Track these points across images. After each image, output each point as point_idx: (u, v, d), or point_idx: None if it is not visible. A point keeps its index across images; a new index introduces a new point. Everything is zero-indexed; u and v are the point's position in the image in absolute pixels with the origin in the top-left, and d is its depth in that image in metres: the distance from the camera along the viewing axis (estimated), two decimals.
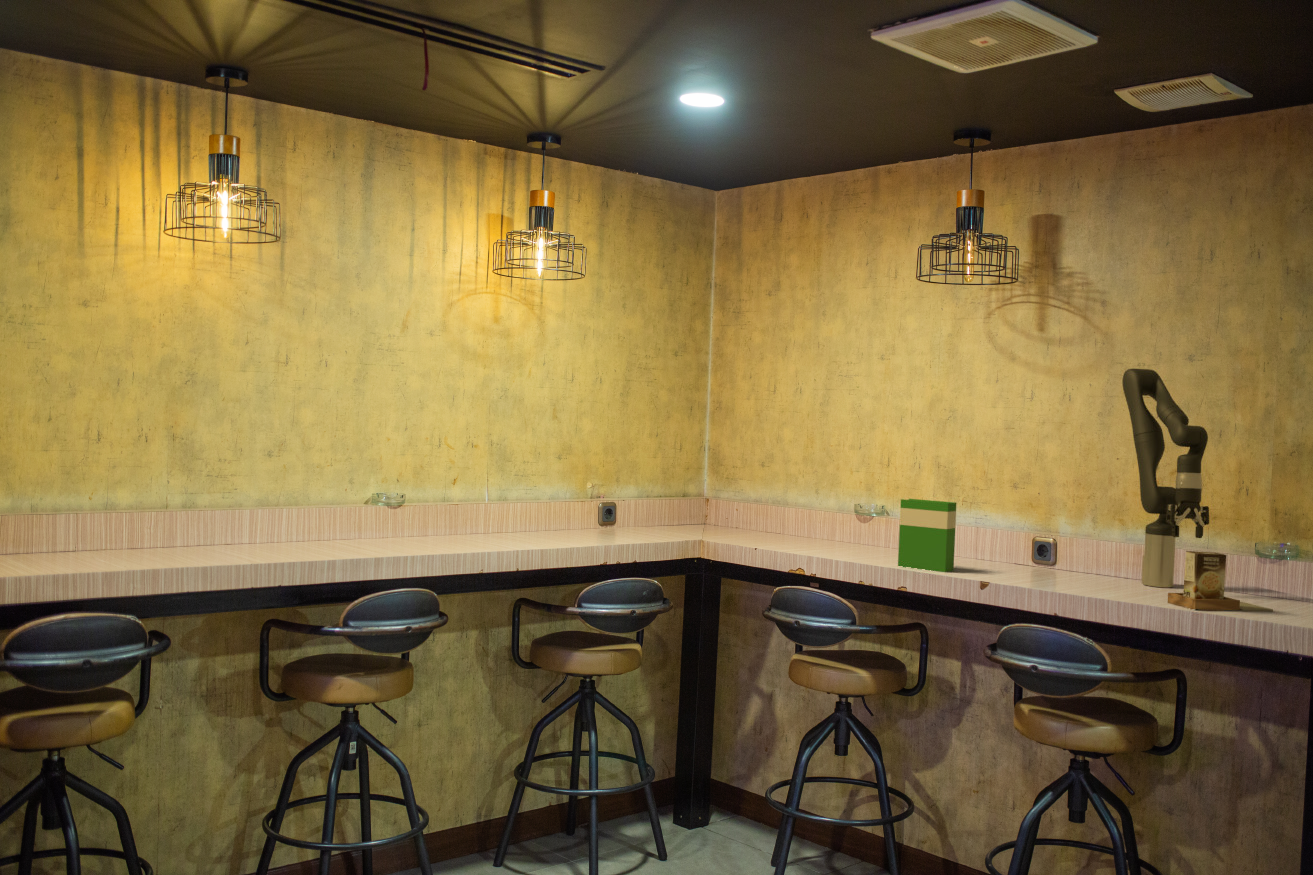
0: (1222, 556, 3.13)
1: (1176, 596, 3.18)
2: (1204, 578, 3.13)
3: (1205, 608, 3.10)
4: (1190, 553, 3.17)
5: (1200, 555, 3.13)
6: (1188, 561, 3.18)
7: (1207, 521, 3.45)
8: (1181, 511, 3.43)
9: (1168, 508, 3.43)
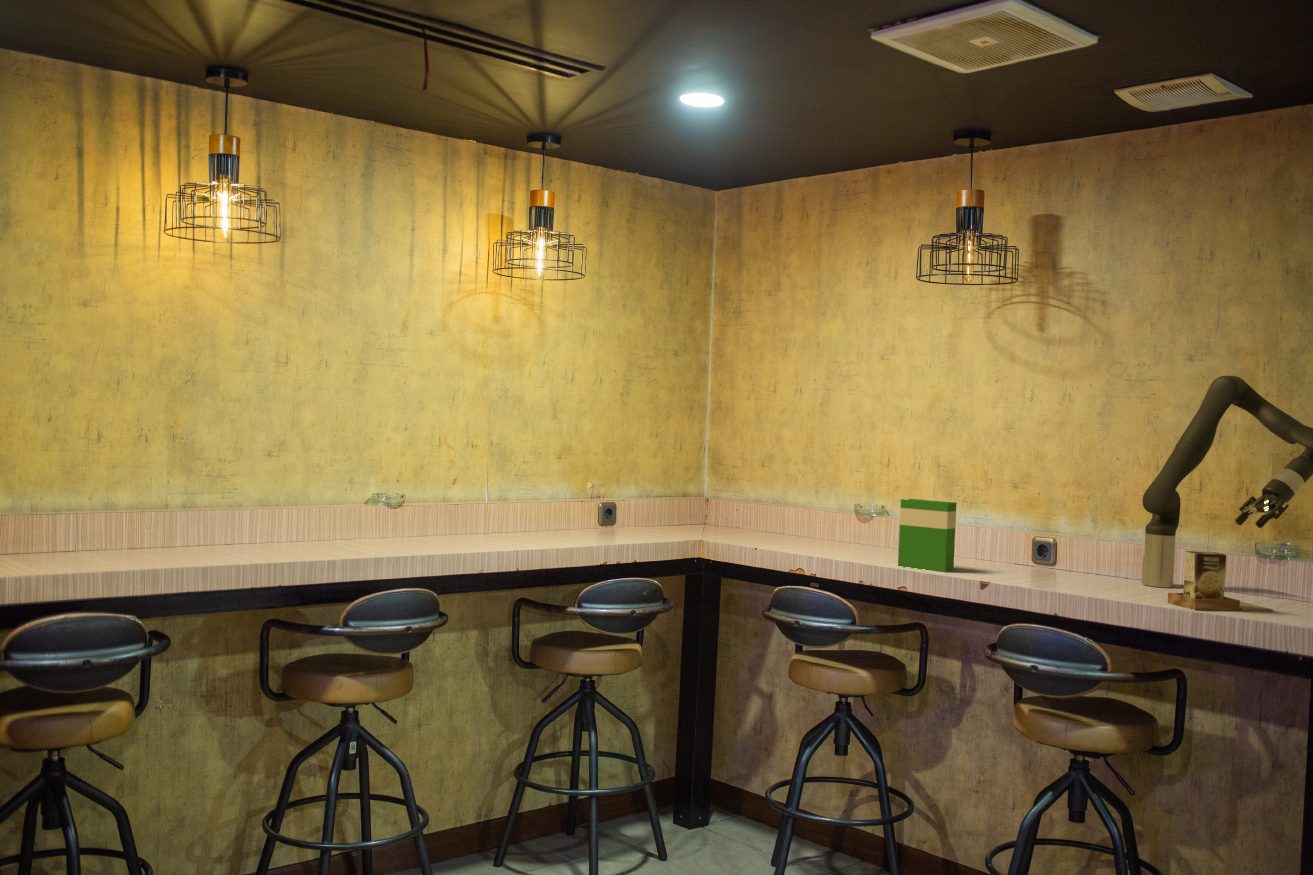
0: (1222, 556, 3.13)
1: (1176, 596, 3.18)
2: (1204, 578, 3.13)
3: (1205, 608, 3.10)
4: (1190, 553, 3.17)
5: (1200, 555, 3.13)
6: (1188, 561, 3.18)
7: None
8: None
9: (1283, 504, 3.13)
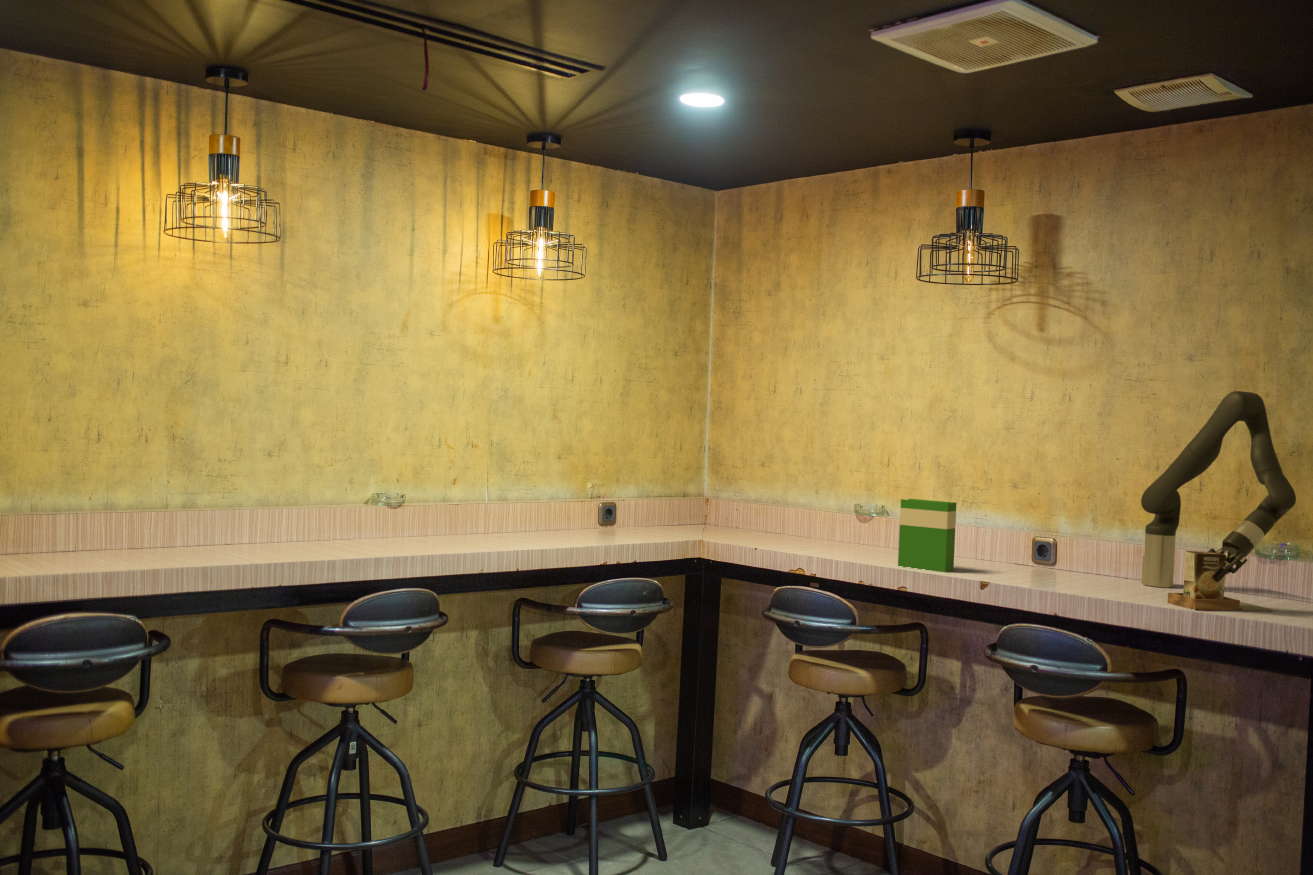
0: (1222, 556, 3.14)
1: (1176, 596, 3.18)
2: (1204, 577, 3.13)
3: (1205, 608, 3.10)
4: (1190, 553, 3.17)
5: (1200, 555, 3.13)
6: (1188, 561, 3.18)
7: None
8: None
9: (1241, 558, 3.11)
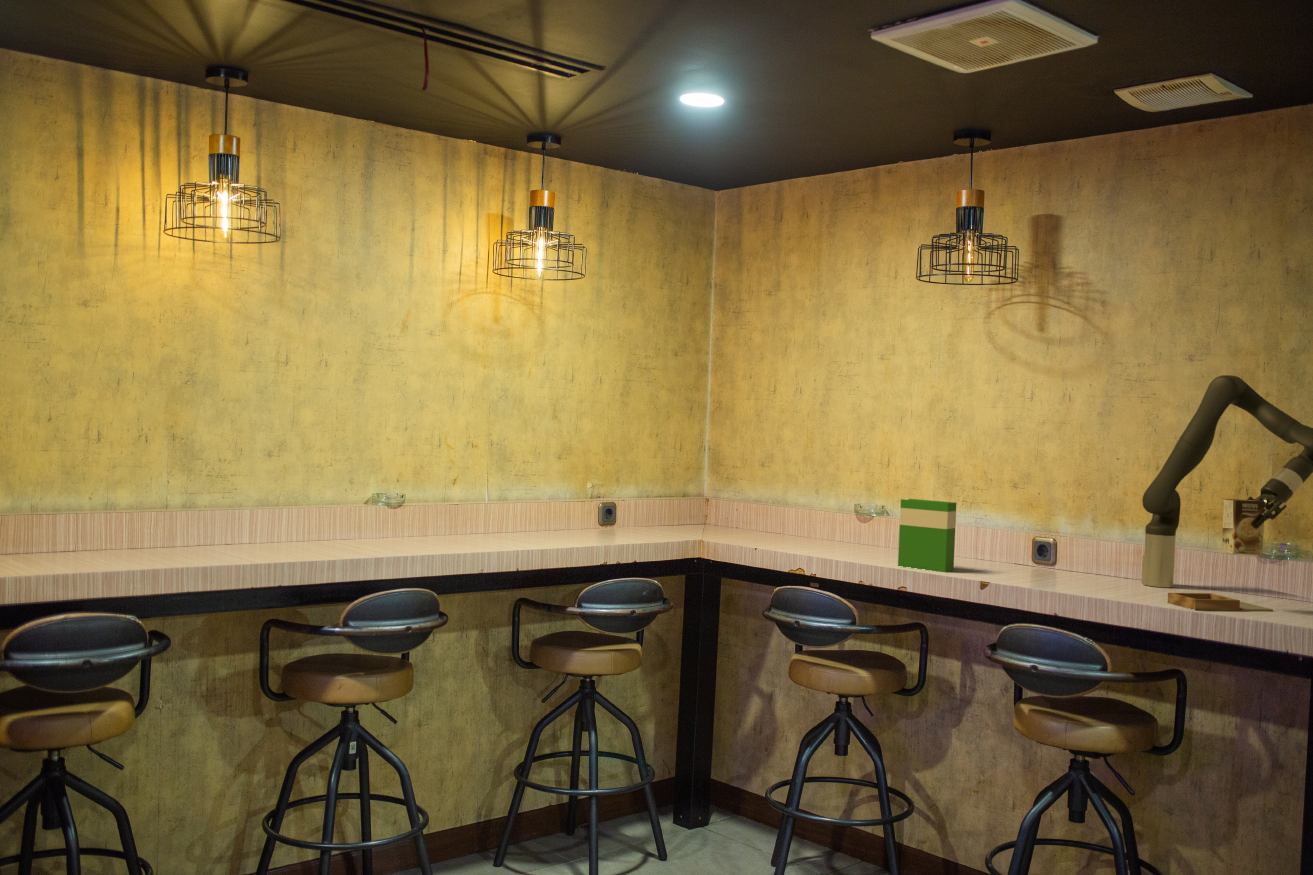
0: (1261, 502, 3.15)
1: (1176, 596, 3.18)
2: (1243, 524, 3.15)
3: (1205, 608, 3.10)
4: (1228, 500, 3.19)
5: (1239, 502, 3.15)
6: (1226, 508, 3.20)
7: None
8: None
9: (1280, 504, 3.13)
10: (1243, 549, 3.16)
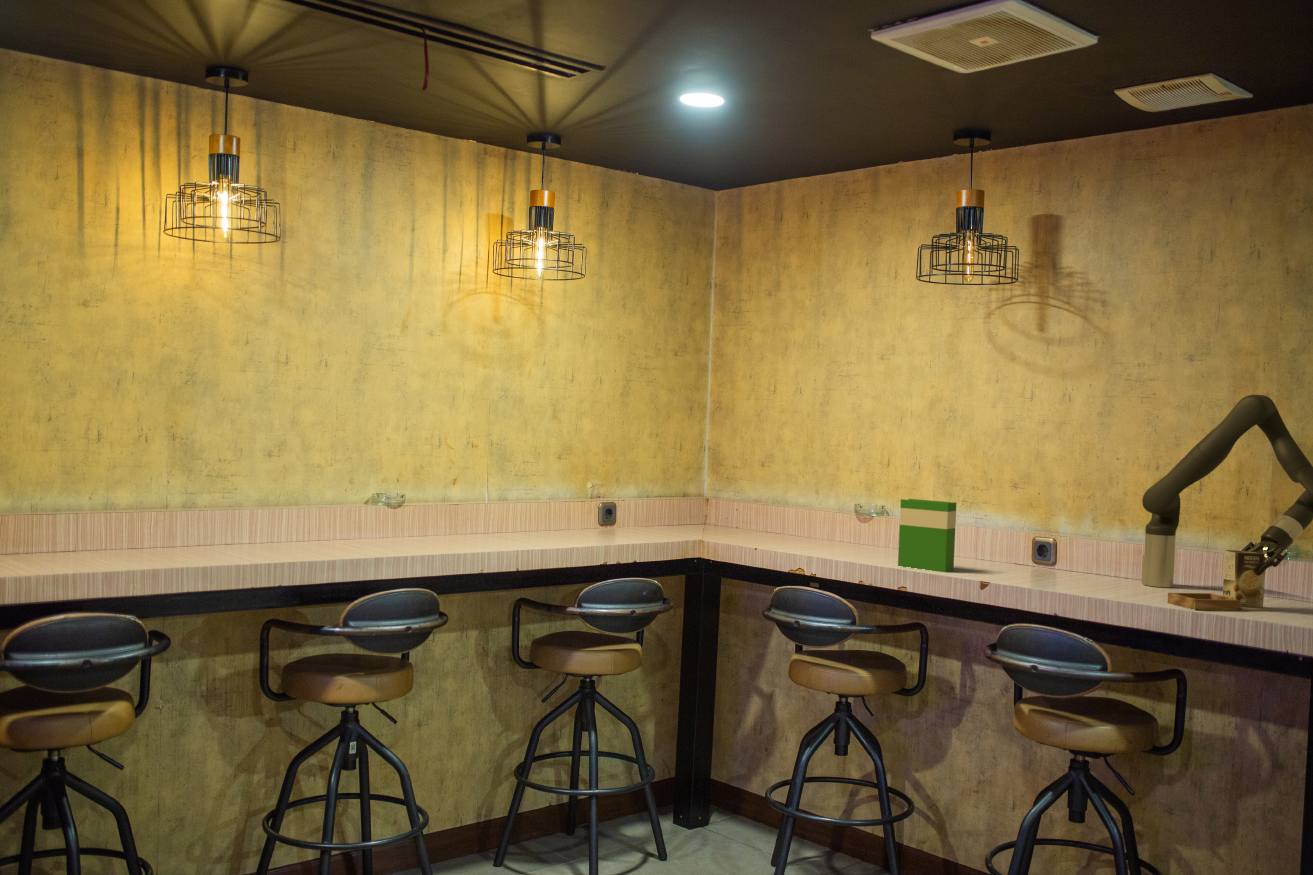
0: (1262, 555, 3.16)
1: (1176, 596, 3.18)
2: (1245, 576, 3.16)
3: (1205, 608, 3.10)
4: (1230, 552, 3.19)
5: (1241, 554, 3.16)
6: (1228, 560, 3.20)
7: None
8: None
9: (1282, 552, 3.13)
10: (1244, 602, 3.16)
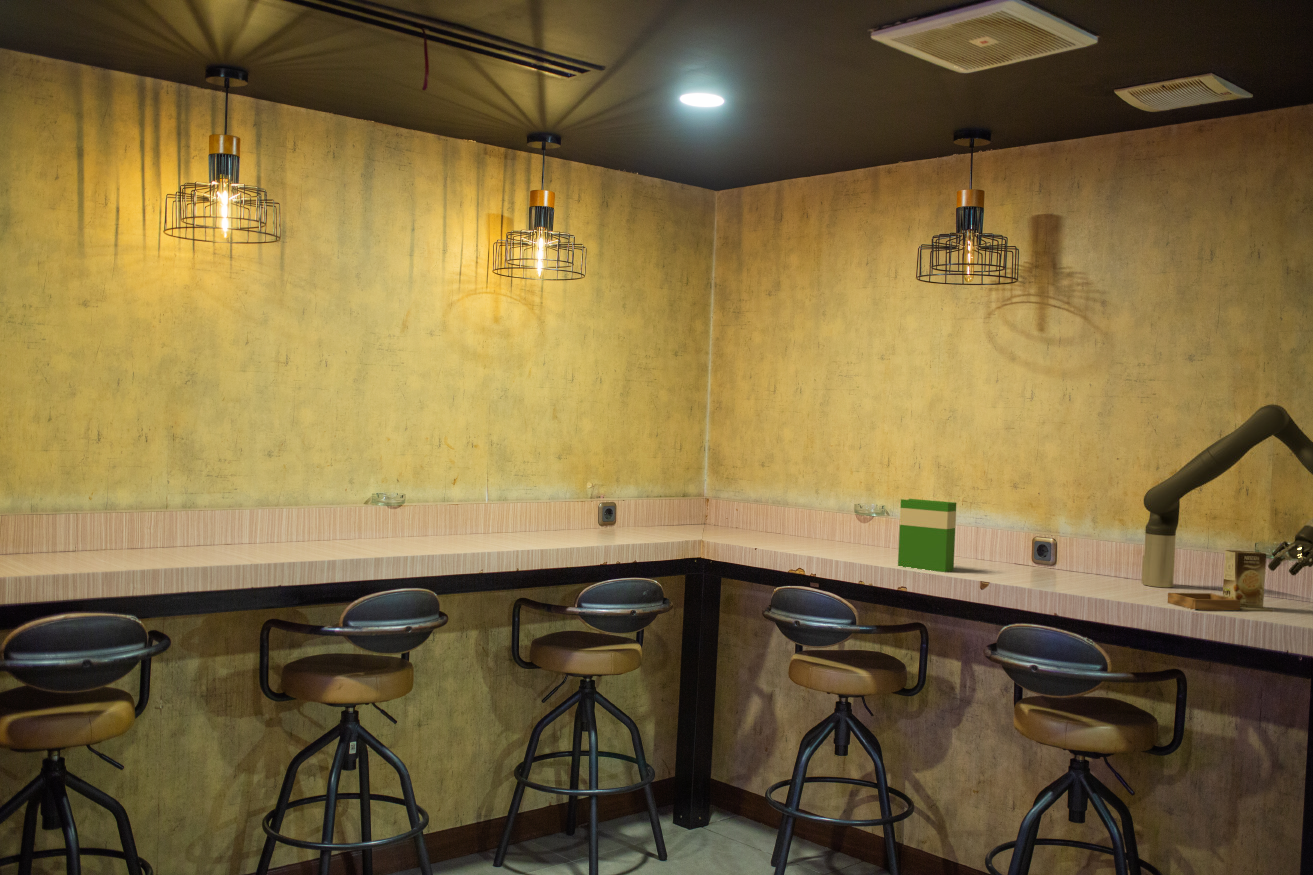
0: (1262, 555, 3.16)
1: (1176, 596, 3.18)
2: (1245, 576, 3.16)
3: (1205, 608, 3.10)
4: (1230, 552, 3.19)
5: (1241, 554, 3.16)
6: (1228, 560, 3.20)
7: None
8: (1308, 555, 3.19)
9: None
10: (1244, 602, 3.16)
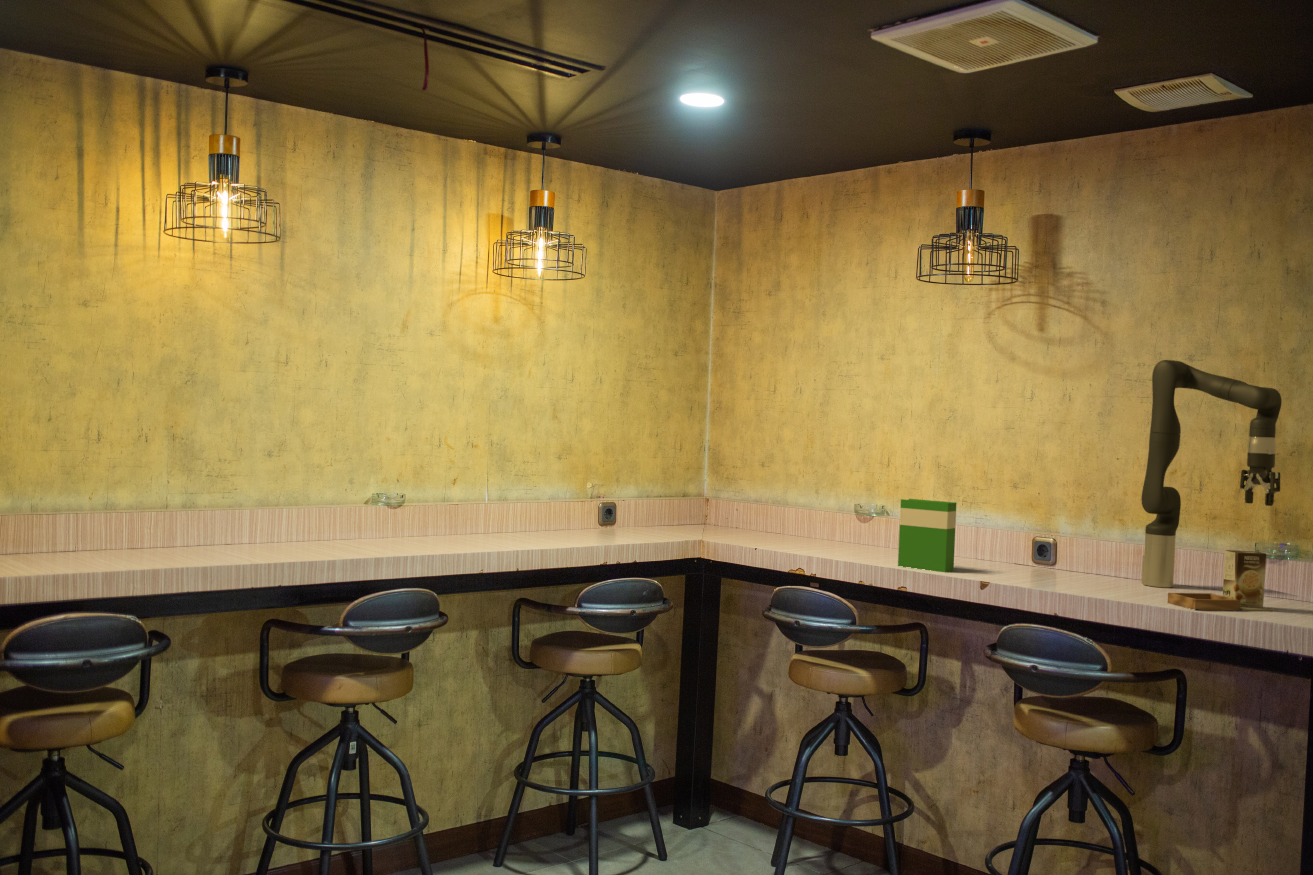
0: (1262, 555, 3.16)
1: (1176, 596, 3.18)
2: (1245, 576, 3.16)
3: (1205, 608, 3.10)
4: (1230, 552, 3.19)
5: (1241, 554, 3.16)
6: (1228, 560, 3.20)
7: None
8: None
9: (1275, 476, 3.23)
10: (1244, 602, 3.16)
